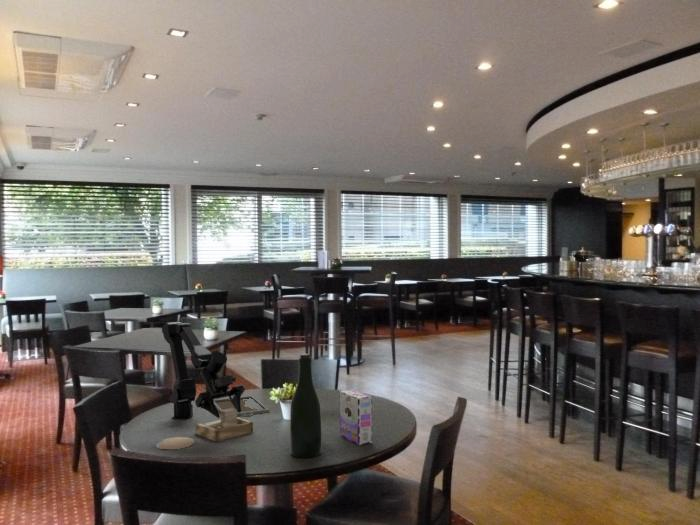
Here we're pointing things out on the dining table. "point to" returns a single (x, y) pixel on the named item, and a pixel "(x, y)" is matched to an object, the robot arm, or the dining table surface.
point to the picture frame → (245, 411)
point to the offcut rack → (218, 433)
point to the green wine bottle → (305, 414)
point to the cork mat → (176, 443)
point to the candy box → (356, 416)
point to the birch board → (228, 418)
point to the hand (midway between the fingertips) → (229, 414)
